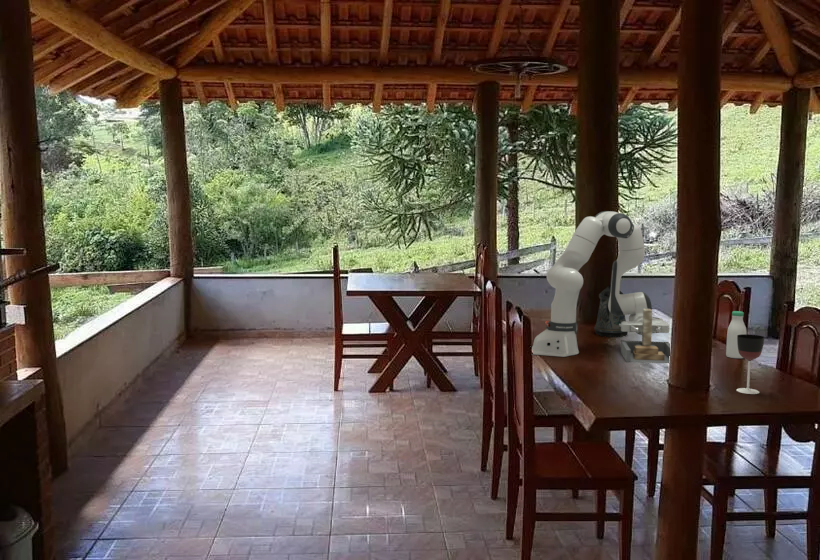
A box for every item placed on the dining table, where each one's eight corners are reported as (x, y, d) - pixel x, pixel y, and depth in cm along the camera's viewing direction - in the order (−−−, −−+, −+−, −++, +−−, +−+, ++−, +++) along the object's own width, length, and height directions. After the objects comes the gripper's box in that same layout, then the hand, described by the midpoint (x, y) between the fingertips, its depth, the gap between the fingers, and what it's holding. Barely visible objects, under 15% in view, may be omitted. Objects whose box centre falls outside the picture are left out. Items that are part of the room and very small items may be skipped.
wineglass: (764, 394, 246) (767, 339, 243) (738, 393, 247) (740, 338, 245) (757, 388, 253) (760, 334, 251) (731, 387, 255) (734, 334, 252)
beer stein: (625, 331, 360) (627, 284, 357) (630, 339, 341) (632, 289, 339) (592, 330, 363) (594, 283, 360) (596, 338, 344) (597, 288, 341)
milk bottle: (747, 359, 299) (750, 313, 296) (728, 358, 300) (730, 312, 298) (742, 355, 306) (745, 310, 304) (724, 354, 308) (726, 310, 305)
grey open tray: (626, 365, 289) (626, 350, 288) (620, 354, 308) (620, 340, 307) (676, 367, 286) (677, 351, 285) (667, 356, 305) (668, 341, 304)
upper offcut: (635, 353, 293) (636, 348, 293) (634, 351, 298) (634, 345, 298) (658, 354, 292) (658, 348, 291) (656, 351, 297) (656, 346, 296)
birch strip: (643, 356, 299) (644, 310, 296) (641, 353, 304) (643, 308, 301) (650, 356, 298) (652, 310, 296) (648, 353, 303) (650, 308, 301)
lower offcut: (634, 359, 293) (634, 353, 293) (632, 356, 299) (632, 350, 299) (664, 360, 291) (664, 354, 291) (661, 357, 297) (662, 351, 297)
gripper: (618, 317, 314) (622, 322, 300) (665, 318, 310) (672, 323, 297) (618, 330, 314) (621, 337, 301) (665, 332, 311) (671, 338, 297)
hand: (647, 330), depth 299 cm, fingers open, 8 cm apart
